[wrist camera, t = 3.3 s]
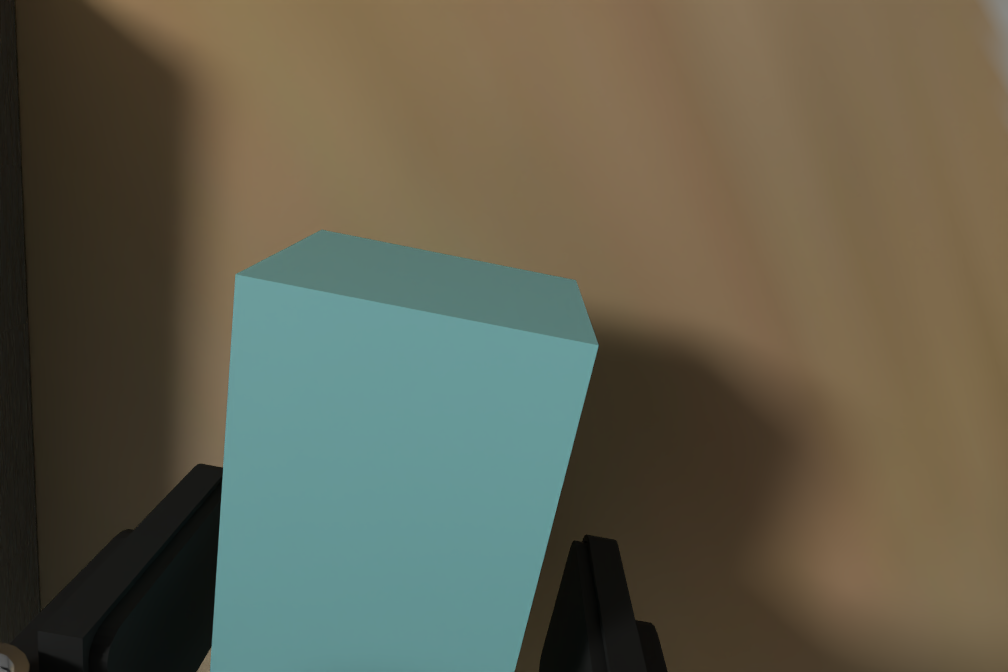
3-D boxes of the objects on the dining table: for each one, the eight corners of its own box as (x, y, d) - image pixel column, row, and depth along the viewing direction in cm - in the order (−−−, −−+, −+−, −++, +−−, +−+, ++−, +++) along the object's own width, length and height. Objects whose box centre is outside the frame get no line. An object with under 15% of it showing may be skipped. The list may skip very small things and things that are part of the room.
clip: (367, 205, 11) (235, 274, 6) (563, 245, 12) (598, 345, 6) (304, 705, 15) (187, 1016, 10) (453, 731, 15) (416, 1051, 10)
